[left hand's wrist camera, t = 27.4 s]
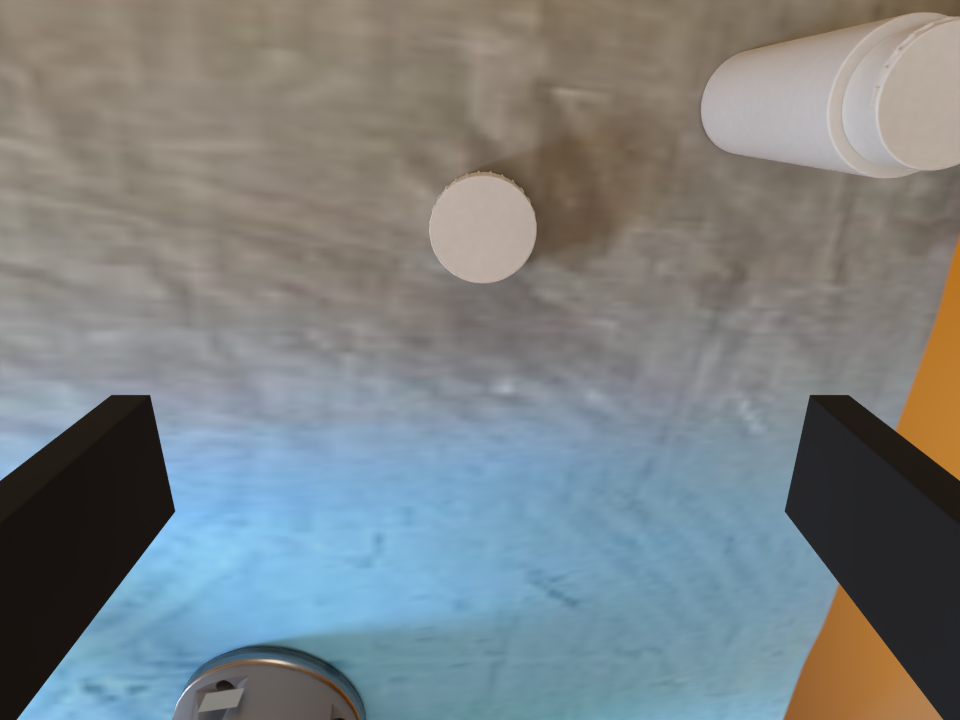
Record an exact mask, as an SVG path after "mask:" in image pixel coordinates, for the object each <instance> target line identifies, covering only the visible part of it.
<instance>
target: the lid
mask: <svg viewBox="0 0 960 720" xmlns="http://www.w3.org/2000/svg"><path fill="white" fill-rule="evenodd" d="M437 200H438V201H437V203H436V205H434V206H433V208H432V211H433V212H432V216H431V218H430V220H429V223H430V232H429V235H430V239H431V244H432V247H433V250H434V252H435V254H436V256H437V258H438V259H439V261H440V262H441V263H442V265H443V266H444V267H445V268H446V269H447V270H449V271H450V272H451V273H452V274H454V275H455V276H457V277H459V278H461V279H463V280H466V281H469V282H474V283H492V282H497V281H500V280H503V279H505V278H507V277H509V276H511V275H512V274H514V273H515V272H516V271H518V270H519V269H520V268H521V267H522V266H523V265H524V264H525V262H526V261H527V259H528V258H529V256H530V254H531V252H532V250H533V247H534V245H535V240H536V238H537V236H536V233H537V223H536V218H535V214H536V213H535V211H534V209H533V208H532V206H531V204H530V203H531V201H530V199H529V198H528V197H526V195H525V194H524V191H523V189H522V188H519V187H518V186H517V185H516V184H515V183H514V181H513V180H510V179H508V178H506V177H504V176H503V174H501V175H499V174H496V173H492V171H490V172H480V171H478V172H475V173H470V174H468V173H466V175H464V176H462V177H460V178H458V179H457V178H455V181H454V182H452V183H451V184H450V185H449V186H448V185H447V186H446V187H445V190H444V191H443V192H442V194H441V195H440V194H439V196H438V198H437Z"/></svg>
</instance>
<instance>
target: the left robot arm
mask: <svg viewBox="0 0 960 720" xmlns="http://www.w3.org/2000/svg"><path fill="white" fill-rule="evenodd" d="M174 512H175V508H174V504H173V499H172V494H171V490H170V485H169V481H168V476H167V471H166V467H165V462H164V457H163V453H162V448H161V444H160V439H159V434H158V430H157V425H156V420H155V416H154V411H153V407H152V402H151V397H150V395H111V396H110V397H108V398H107V399H106V400H105V401H103V402H102V403H101V404H99V405H98V406H97V407H96V408H94V409H93V410H92V411H90V412H89V413H88V414H86V415H85V416H84V417H83V418H81V419H80V420H79V421H77V422H76V423H75V424H73V425H72V426H71V427H70V428H68V429H67V430H66V431H64V432H63V433H62V434H61V435H59V436H58V437H57V438H55V439H54V440H53V441H51V442H50V443H49V444H48V445H46V446H45V447H44V448H42V449H41V450H40V451H38V452H37V453H36V454H35V455H33V456H32V457H31V458H29V459H28V460H27V461H26V462H24V463H23V464H22V465H20V466H19V467H18V468H16V469H15V470H14V471H13V472H11V473H10V474H9V475H7V476H6V477H5V478H3V479H2V480H1V481H0V720H17V719H18V717H19V716H20V715H21V713H22V712H23V711H24V709H25V708H26V707H27V705H28V704H29V703H30V701H31V700H32V699H33V698H34V696H35V695H36V694H37V692H38V691H39V690H40V688H41V687H42V686H43V684H44V683H45V682H46V680H47V679H48V678H49V677H50V675H51V674H52V673H53V671H54V670H55V669H56V667H57V666H58V665H59V663H60V662H61V661H62V659H63V658H64V657H65V655H66V654H67V653H68V652H69V650H70V649H71V648H72V646H73V645H74V644H75V642H76V641H77V640H78V638H79V637H80V636H81V634H82V633H83V632H84V631H85V629H86V628H87V627H88V625H89V624H90V623H91V621H92V620H93V619H94V617H95V616H96V615H97V613H98V612H99V611H100V610H101V608H102V607H103V606H104V604H105V603H106V602H107V600H108V599H109V598H110V596H111V595H112V594H113V592H114V591H115V590H116V588H117V587H118V586H119V585H120V583H121V582H122V581H123V579H124V578H125V577H126V575H127V574H128V573H129V571H130V570H131V569H132V567H133V566H134V565H135V564H136V562H137V561H138V560H139V558H140V557H141V556H142V554H143V553H144V552H145V550H146V549H147V548H148V546H149V545H150V544H151V543H152V541H153V540H154V539H155V537H156V536H157V535H158V533H159V532H160V531H161V529H162V528H163V527H164V525H165V524H166V523H167V521H168V520H169V519H170V518H171V516H172V515H173V514H174ZM785 512H786V514H787V515H788V516H789V518H790V519H791V520H792V521H793V523H794V524H795V525H796V527H797V528H798V529H799V531H800V532H801V533H802V535H803V536H804V537H805V539H806V540H807V541H808V543H809V544H810V545H811V546H812V548H813V549H814V550H815V552H816V553H817V554H818V556H819V557H820V558H821V560H822V561H823V562H824V564H825V565H826V566H827V567H828V569H829V570H830V571H831V573H832V574H833V575H834V577H835V578H836V579H837V581H838V582H839V583H840V585H841V586H842V587H843V588H844V590H845V591H846V592H847V594H848V595H849V596H850V598H851V599H852V600H853V602H854V603H855V604H856V606H857V607H858V608H859V610H860V611H861V612H862V613H863V615H864V616H865V617H866V619H867V620H868V621H869V623H870V624H871V625H872V627H873V628H874V629H875V630H876V632H877V633H878V634H879V636H880V637H881V638H882V640H883V641H884V642H885V644H886V645H887V646H888V648H889V649H890V650H891V652H892V653H893V654H894V655H895V657H896V658H897V659H898V661H899V662H900V663H901V665H902V666H903V667H904V669H905V670H906V671H907V673H908V674H909V675H910V676H911V678H912V679H913V680H914V682H915V683H916V684H917V686H918V687H919V688H920V690H921V691H922V692H923V694H924V695H925V696H926V697H927V699H928V700H929V701H930V703H931V704H932V705H933V707H934V708H935V709H936V711H937V712H938V713H939V715H940V716H941V717H942V718H943V720H960V481H959V480H958V479H957V478H955V477H954V476H953V475H951V474H950V473H949V472H947V471H946V470H945V469H944V468H942V467H941V466H940V465H938V464H937V463H936V462H934V461H933V460H932V459H931V458H929V457H928V456H927V455H925V454H924V453H923V452H922V451H920V450H919V449H918V448H916V447H915V446H914V445H912V444H911V443H910V442H909V441H907V440H906V439H905V438H903V437H902V436H901V435H899V434H898V433H897V432H896V431H894V430H893V429H892V428H890V427H889V426H888V425H887V424H885V423H884V422H883V421H881V420H880V419H879V418H877V417H876V416H875V415H874V414H872V413H871V412H870V411H868V410H867V409H866V408H864V407H863V406H862V405H861V404H859V403H858V402H857V401H855V400H854V399H853V398H852V397H850V396H849V395H810V397H809V402H808V407H807V411H806V416H805V420H804V425H803V430H802V434H801V439H800V444H799V448H798V453H797V457H796V462H795V467H794V471H793V476H792V481H791V485H790V490H789V494H788V499H787V504H786V508H785ZM173 720H365V712H364V708H363V705H362V702H361V700H360V698H359V696H358V694H357V692H356V691H355V689H354V688H353V687H352V685H351V684H350V683H349V682H348V681H347V680H346V679H345V678H344V677H343V676H342V675H341V674H339V673H338V672H337V671H336V670H334V669H333V668H331V667H330V666H328V665H327V664H325V663H323V662H321V661H319V660H317V659H315V658H313V657H310V656H307V655H305V654H302V653H298V652H295V651H290V650H286V649H279V648H267V647H257V648H246V649H240V650H236V651H231V652H228V653H225V654H222V655H220V656H218V657H216V658H214V659H212V660H210V661H208V662H207V663H205V664H204V665H203V666H201V667H200V668H199V669H198V670H197V671H196V672H195V673H194V674H193V675H192V677H191V678H190V680H189V681H188V683H187V685H186V687H185V689H184V691H183V693H182V695H181V697H180V698H179V700H178V703H177V705H176V707H175V711H174V716H173Z"/></svg>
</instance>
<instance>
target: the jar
mask: <svg viewBox="0 0 960 720" xmlns="http://www.w3.org/2000/svg"><path fill="white" fill-rule="evenodd" d="M701 118H702V123H703V126H704V129H705V131H706V133H707V135H708V137H709V138H710V139H711V141H712V142H713V143H714V144H715V145H716V146H718V147H719V148H721V149H722V150H724V151H727V152H729V153H733V154H738V155H744V156H750V157H756V158H762V159H768V160H774V161H779V162H785V163H791V164H797V165H803V166H809V167H815V168H821V169H827V170H833V171H839V172H845V173H851V174H856V175H862V176H868V177H874V178H885V179H887V178H898V177H903V176H907V175H910V174H913V173H916V172H918V171H920V170H923V171H933V170H941V169H946V168H949V167H952V166H956V165H958V164H960V17H952V16H950V17H948V16H946V15H943V14H938V13H932V12H917V13H911V14H906V15H901V16H897V17H893V18H888V19H884V20H879V21H875V22H871V23H866V24H862V25H857V26H853V27H848V28H844V29H840V30H835V31H831V32H826V33H822V34H818V35H813V36H809V37H804V38H800V39H796V40H791V41H787V42H782V43H778V44H773V45H769V46H765V47H760V48H756V49H751V50H747V51H743V52H741V53H738V54H736V55H734V56H732V57H731V58H729V59H728V60H726V61H725V62H724V63H723V64H721V65H720V66H719V67H718V69H717V70H716V71H715V72H714V73H713V75H712V76H711V78H710V79H709V81H708V83H707V85H706V88H705V90H704V93H703V97H702V102H701Z"/></svg>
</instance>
